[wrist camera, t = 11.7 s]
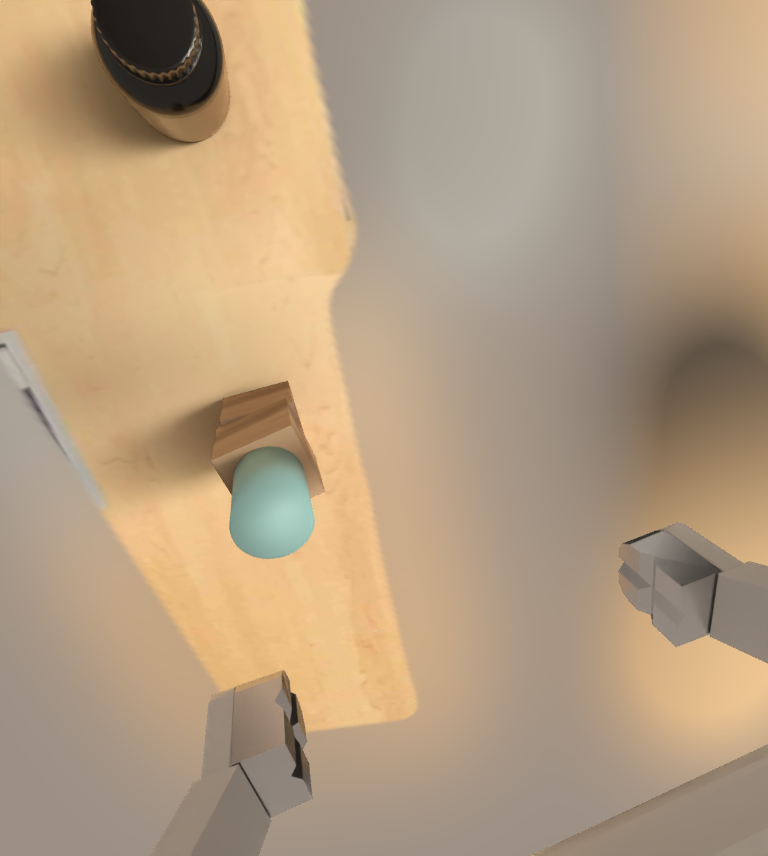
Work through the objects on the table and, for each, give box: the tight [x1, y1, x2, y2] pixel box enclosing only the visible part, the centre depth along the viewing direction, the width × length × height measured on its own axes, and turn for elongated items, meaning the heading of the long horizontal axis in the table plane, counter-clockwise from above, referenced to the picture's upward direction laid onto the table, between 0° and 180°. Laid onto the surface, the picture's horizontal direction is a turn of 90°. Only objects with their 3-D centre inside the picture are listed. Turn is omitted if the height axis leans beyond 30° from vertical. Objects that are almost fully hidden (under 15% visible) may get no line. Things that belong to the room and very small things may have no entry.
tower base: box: [219, 381, 304, 433], centre depth 41 cm, size 6×6×6 cm
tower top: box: [211, 398, 325, 498], centre depth 36 cm, size 6×6×6 cm
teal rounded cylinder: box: [230, 446, 314, 559], centre depth 31 cm, size 5×5×6 cm
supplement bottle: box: [91, 0, 230, 142], centre depth 28 cm, size 7×7×12 cm
